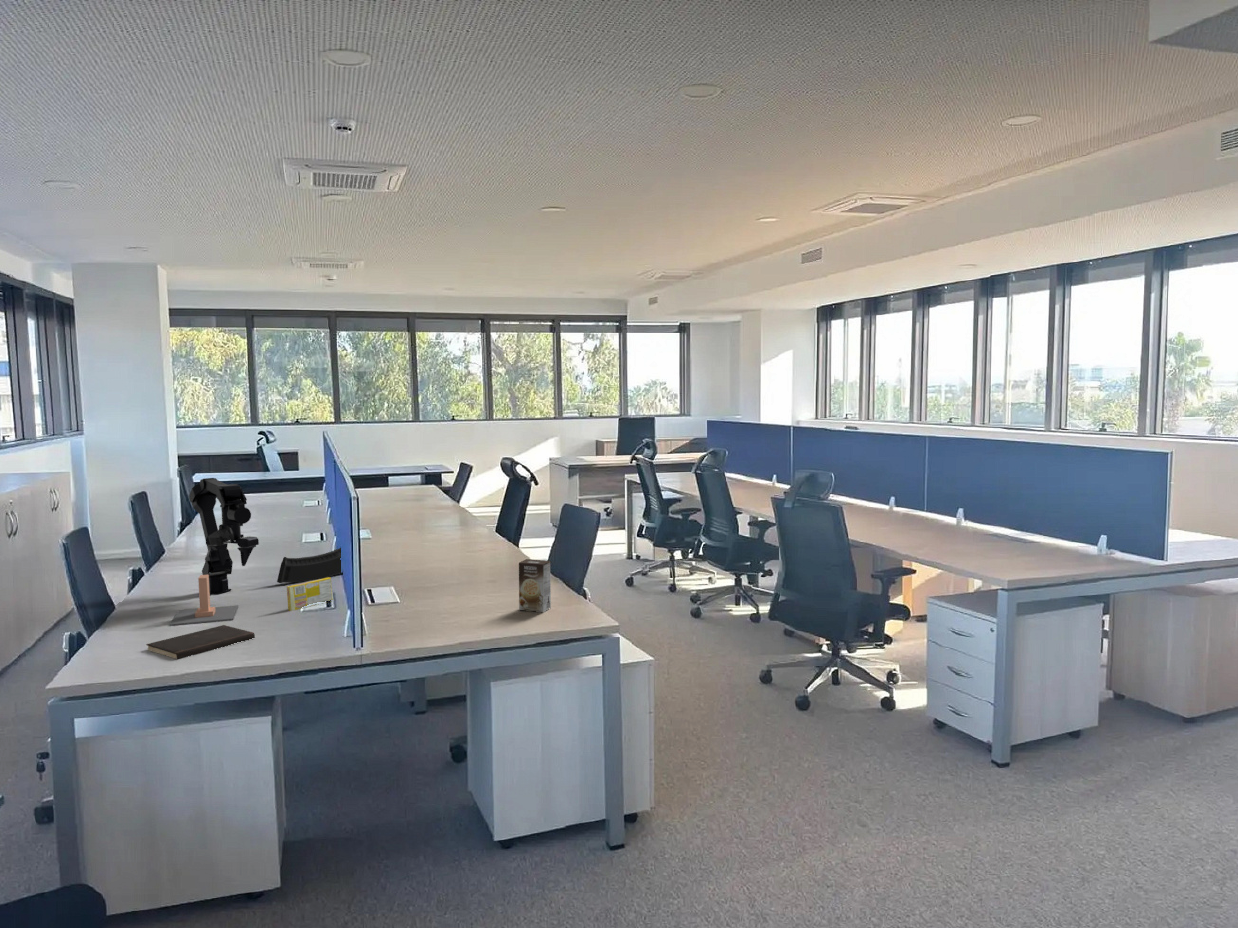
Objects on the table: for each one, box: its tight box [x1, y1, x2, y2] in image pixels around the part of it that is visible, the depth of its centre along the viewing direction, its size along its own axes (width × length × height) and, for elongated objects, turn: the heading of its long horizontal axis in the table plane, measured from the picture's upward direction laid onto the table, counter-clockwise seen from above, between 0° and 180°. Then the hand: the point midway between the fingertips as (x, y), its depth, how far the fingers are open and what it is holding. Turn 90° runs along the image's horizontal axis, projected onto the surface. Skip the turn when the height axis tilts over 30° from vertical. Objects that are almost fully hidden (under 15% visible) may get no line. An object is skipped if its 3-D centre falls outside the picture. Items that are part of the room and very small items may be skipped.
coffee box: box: [518, 558, 552, 613], centre depth 276 cm, size 9×6×16 cm
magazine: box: [276, 547, 342, 584], centre depth 325 cm, size 17×3×30 cm
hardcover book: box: [146, 624, 256, 661], centre depth 242 cm, size 16×23×2 cm
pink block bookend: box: [195, 574, 216, 618], centre depth 272 cm, size 6×5×12 cm
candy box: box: [286, 577, 334, 612], centre depth 284 cm, size 16×2×8 cm, turn 144°
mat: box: [169, 604, 239, 627], centre depth 273 cm, size 18×18×1 cm
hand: (233, 565), depth 294 cm, fingers open, 9 cm apart
